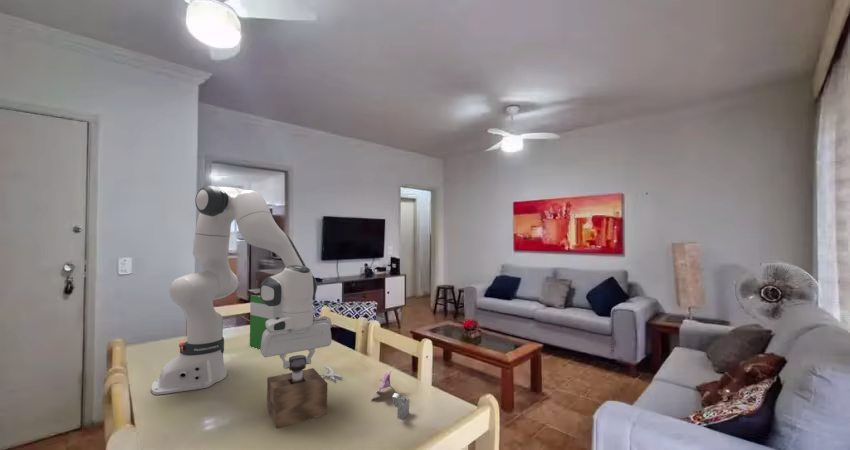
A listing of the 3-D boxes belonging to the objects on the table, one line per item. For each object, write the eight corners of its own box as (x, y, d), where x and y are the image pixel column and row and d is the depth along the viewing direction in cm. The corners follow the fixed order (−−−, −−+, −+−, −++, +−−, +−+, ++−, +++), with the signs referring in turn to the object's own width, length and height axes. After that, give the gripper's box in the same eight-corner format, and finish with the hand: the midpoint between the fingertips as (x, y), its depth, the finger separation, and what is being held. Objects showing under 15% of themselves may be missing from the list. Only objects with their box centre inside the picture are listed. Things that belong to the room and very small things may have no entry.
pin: (290, 396, 103) (291, 361, 103) (286, 390, 107) (287, 357, 107) (307, 392, 106) (307, 358, 106) (303, 386, 110) (303, 353, 110)
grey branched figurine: (326, 363, 141) (349, 373, 131) (326, 367, 141) (349, 378, 131) (303, 371, 134) (326, 382, 124) (303, 375, 133) (326, 386, 124)
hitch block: (276, 428, 97) (277, 394, 97) (266, 407, 108) (267, 377, 108) (327, 413, 104) (327, 383, 105) (312, 395, 116) (313, 368, 116)
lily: (389, 388, 125) (376, 364, 124) (415, 382, 119) (401, 357, 118) (371, 413, 114) (356, 388, 114) (398, 408, 108) (382, 381, 108)
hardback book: (249, 346, 166) (250, 295, 166) (264, 342, 172) (265, 293, 172) (272, 353, 156) (273, 299, 157) (287, 349, 162) (287, 296, 163)
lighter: (404, 411, 106) (404, 384, 106) (409, 413, 105) (409, 386, 105) (391, 423, 99) (391, 394, 100) (397, 424, 99) (397, 395, 99)
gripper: (328, 313, 115) (327, 356, 115) (259, 322, 104) (259, 369, 104) (334, 317, 110) (334, 361, 110) (263, 326, 99) (263, 376, 98)
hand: (297, 365), depth 107 cm, fingers closed on pin, 5 cm apart
